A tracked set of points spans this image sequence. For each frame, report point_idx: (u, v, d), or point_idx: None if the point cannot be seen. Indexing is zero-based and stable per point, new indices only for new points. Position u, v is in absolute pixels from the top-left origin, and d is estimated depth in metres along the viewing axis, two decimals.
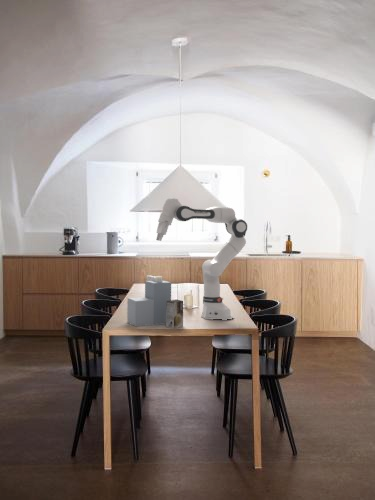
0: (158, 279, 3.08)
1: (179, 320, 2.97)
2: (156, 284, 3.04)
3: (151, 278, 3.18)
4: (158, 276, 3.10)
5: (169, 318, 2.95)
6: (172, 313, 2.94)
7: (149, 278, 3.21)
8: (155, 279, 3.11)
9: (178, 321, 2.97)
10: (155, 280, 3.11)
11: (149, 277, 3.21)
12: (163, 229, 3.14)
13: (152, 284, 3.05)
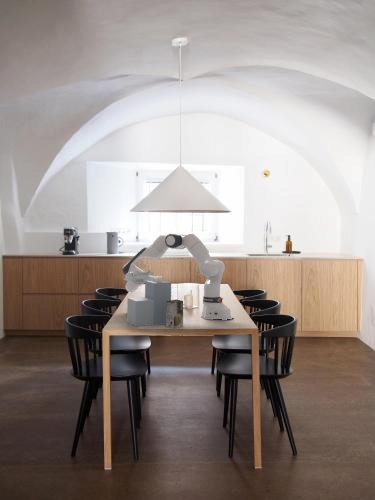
0: (158, 279, 3.08)
1: (179, 320, 2.97)
2: (156, 284, 3.04)
3: (151, 278, 3.18)
4: (158, 276, 3.10)
5: (169, 318, 2.95)
6: (172, 313, 2.94)
7: (149, 278, 3.21)
8: (155, 279, 3.11)
9: (178, 321, 2.97)
10: (155, 280, 3.11)
11: (149, 277, 3.21)
12: (126, 277, 3.34)
13: (152, 284, 3.05)
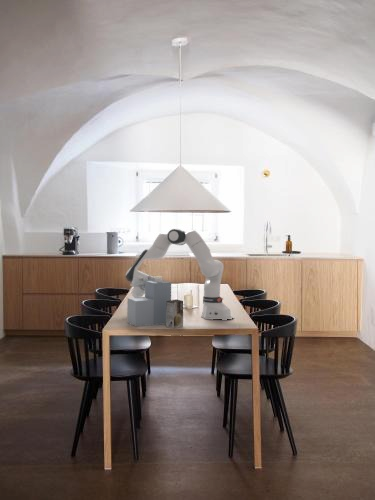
0: (158, 279, 3.08)
1: (179, 320, 2.97)
2: (156, 284, 3.04)
3: (151, 278, 3.18)
4: (158, 276, 3.10)
5: (169, 318, 2.95)
6: (172, 313, 2.94)
7: (149, 278, 3.21)
8: (155, 279, 3.11)
9: (178, 321, 2.97)
10: (155, 280, 3.11)
11: (149, 277, 3.21)
12: (133, 283, 3.24)
13: (152, 284, 3.05)
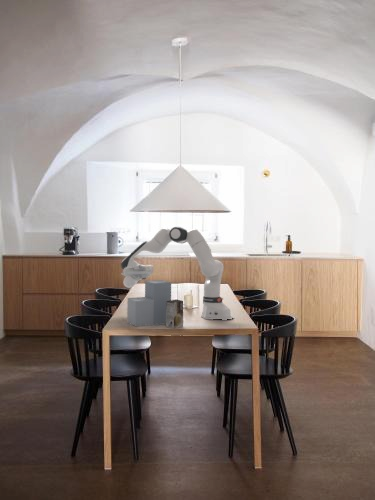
0: (149, 268, 3.08)
1: (179, 320, 2.97)
2: (156, 284, 3.04)
3: (142, 267, 3.17)
4: (149, 265, 3.09)
5: (169, 318, 2.95)
6: (172, 313, 2.94)
7: (140, 267, 3.20)
8: (146, 268, 3.11)
9: (178, 321, 2.97)
10: (146, 269, 3.11)
11: (140, 266, 3.20)
12: (124, 272, 3.23)
13: (152, 284, 3.05)
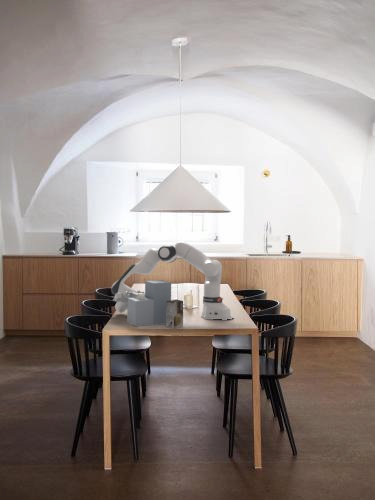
0: (140, 296, 3.03)
1: (179, 320, 2.97)
2: (156, 284, 3.04)
3: (134, 295, 3.13)
4: (140, 293, 3.05)
5: (169, 318, 2.95)
6: (172, 313, 2.94)
7: (132, 295, 3.16)
8: (137, 296, 3.06)
9: (178, 321, 2.97)
10: (137, 297, 3.06)
11: (132, 294, 3.16)
12: (115, 298, 3.18)
13: (152, 284, 3.05)
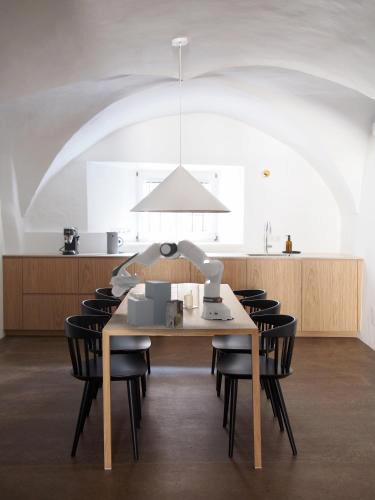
0: (140, 296, 3.03)
1: (179, 320, 2.97)
2: (156, 284, 3.04)
3: (134, 295, 3.13)
4: (140, 293, 3.05)
5: (169, 318, 2.95)
6: (172, 313, 2.94)
7: (132, 295, 3.16)
8: (137, 296, 3.06)
9: (178, 321, 2.97)
10: (137, 297, 3.06)
11: (132, 294, 3.16)
12: (112, 281, 3.29)
13: (152, 284, 3.05)
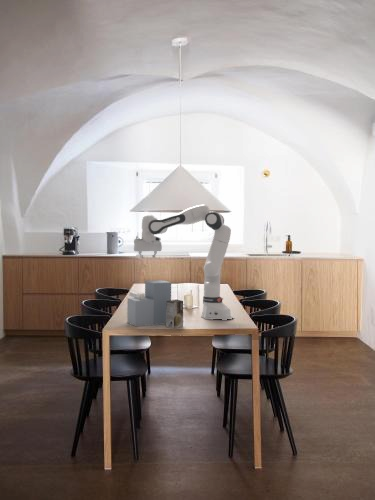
0: (140, 296, 3.03)
1: (179, 320, 2.97)
2: (156, 284, 3.04)
3: (134, 295, 3.13)
4: (140, 293, 3.05)
5: (169, 318, 2.95)
6: (172, 313, 2.94)
7: (132, 295, 3.16)
8: (137, 296, 3.06)
9: (178, 321, 2.97)
10: (137, 297, 3.06)
11: (132, 294, 3.16)
12: (134, 247, 3.41)
13: (152, 284, 3.05)
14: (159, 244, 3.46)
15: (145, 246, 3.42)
